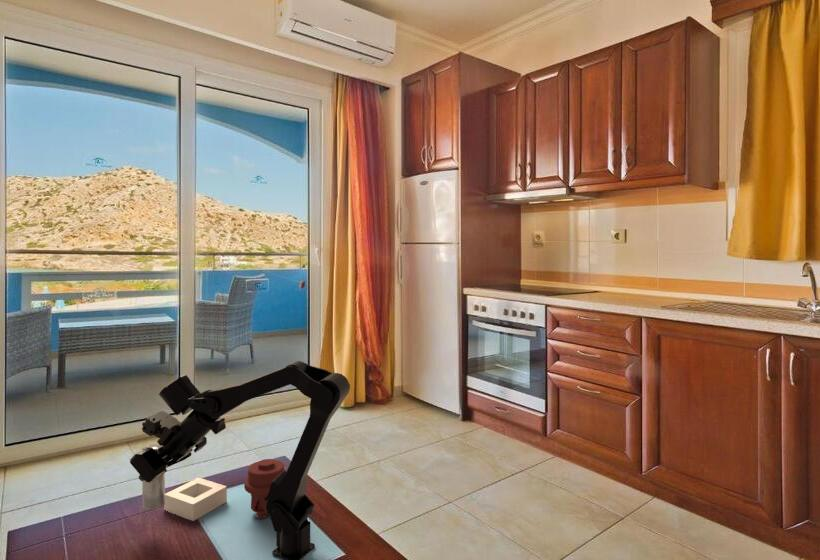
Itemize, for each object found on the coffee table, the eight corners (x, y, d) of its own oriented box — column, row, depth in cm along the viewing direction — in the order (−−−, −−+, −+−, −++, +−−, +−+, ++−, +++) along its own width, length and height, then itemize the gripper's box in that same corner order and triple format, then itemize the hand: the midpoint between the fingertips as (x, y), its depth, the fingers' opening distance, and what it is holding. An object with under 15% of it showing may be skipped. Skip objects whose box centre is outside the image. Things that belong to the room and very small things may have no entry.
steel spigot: (170, 502, 109) (169, 446, 108) (151, 512, 105) (150, 453, 104) (156, 497, 111) (155, 442, 110) (137, 507, 107) (136, 449, 106)
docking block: (226, 501, 122) (226, 486, 121) (193, 521, 113) (193, 504, 112) (198, 492, 126) (198, 477, 126) (164, 510, 117) (164, 494, 117)
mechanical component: (294, 504, 121) (275, 525, 111) (257, 499, 123) (235, 520, 113) (294, 456, 121) (275, 473, 111) (257, 452, 123) (236, 468, 113)
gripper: (194, 390, 115) (154, 432, 118) (137, 415, 97) (90, 464, 99) (225, 425, 114) (183, 467, 117) (173, 457, 96) (125, 506, 98)
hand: (148, 474), depth 108 cm, fingers closed on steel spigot, 4 cm apart
